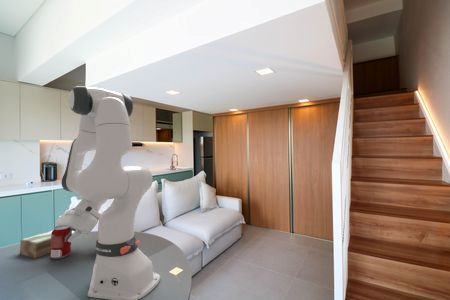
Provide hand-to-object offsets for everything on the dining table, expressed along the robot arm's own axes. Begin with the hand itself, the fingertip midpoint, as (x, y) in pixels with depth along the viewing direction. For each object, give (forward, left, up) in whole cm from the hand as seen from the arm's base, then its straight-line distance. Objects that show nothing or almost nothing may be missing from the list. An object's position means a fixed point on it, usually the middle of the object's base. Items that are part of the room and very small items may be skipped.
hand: (61, 239), depth 88 cm
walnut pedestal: (+12, 0, -7) cm, 14 cm away
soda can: (0, 0, -7) cm, 7 cm away
